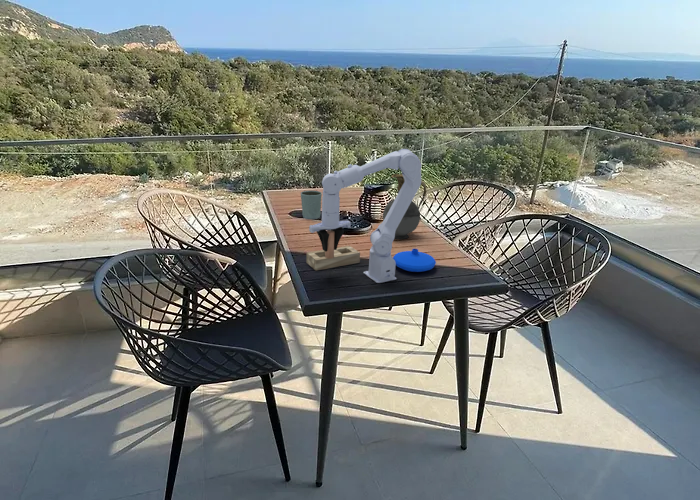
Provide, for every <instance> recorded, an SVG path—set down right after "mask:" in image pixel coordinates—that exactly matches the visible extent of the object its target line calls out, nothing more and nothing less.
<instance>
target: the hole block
mask: <svg viewBox="0 0 700 500" xmlns="http://www.w3.org/2000/svg"><path fill="white" fill-rule="evenodd" d="M360 260H361V252H360V251H358V250H357V249H355V248H354V247H353V246H351V245H345V246H339V247H338V246H337V250H334V258H331V259H328V258H325V251H324V250H323V249H320V250H314V251H309V252H306V264H307V265H308V266H310V267H311V268H312V269H313V270H314V271H321V270H329V269H332V268H338V267H344V266H348V265H353V264H359V263H361V262H360Z"/></svg>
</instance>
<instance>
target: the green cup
mask: <svg viewBox="0 0 700 500" xmlns="http://www.w3.org/2000/svg"><path fill="white" fill-rule="evenodd" d="M322 197H323V192H321V191H319V190H304V191H301V192H300V200H301V201H300V202H301V211H302V218H303V219H306V220H318V219H320V218H321V214H322Z"/></svg>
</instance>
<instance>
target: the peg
mask: <svg viewBox="0 0 700 500" xmlns="http://www.w3.org/2000/svg"><path fill="white" fill-rule="evenodd" d="M326 231H327V233H328V234H329V238H328V249H327V251H326V252H325V258H328V259H331V258H334V236H335V232H334V231H331V230H326Z"/></svg>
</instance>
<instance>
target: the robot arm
mask: <svg viewBox="0 0 700 500" xmlns="http://www.w3.org/2000/svg"><path fill="white" fill-rule="evenodd" d="M422 166H423V165H422V163H421V161H420V158H419V157H418V155H416V154H415V153H413V151H411V150H410V149H408V148H401V149H399V150H395V151H392V152H390V153H387V154H385V155H383V156H381V157H378V158H377V159H373V160H372V161H370V162H367V163H365V164H362V165H361V166H360V165H358V164H353V165H352V163H350V164H348V165H347V167H346V168H343V169H341V170H334V171H333V173H331V172H330V173H327V174H326V175H325V174H324V177H323V178H322V181H321V186H322V196H321V222H318V223H315V224H312V225H311V224H310V225H309V226H308V228H309V229H308V230H309V232H310V233H311V234H314V233H316V234H317V235H318V238H319V240H320V243H321V248H322V250H324V251H325V252H326V251H327V249H328V238H329V234H328V233H327V231H329V230H330V231H334V232H335V236H334V250H337V248H338V245H339V242H340V241H341V238H342V237H343V235H344V233H345V230H344V228H348V229H349V228H351V221H350V220H340V204H341V203H340V202H341V201H340V200H341V197H340V191H341V190H342V189H346V188H348V187H351V186H353V185H355V184H358V183H361V182H362V181H363V179H364V177H365V176H368V175H371V174H374V173H376V172H379V171H382V170H385V169H391V170H396V171H398V170H400V171H401V174H402V175H403V177H404V180H405V182H404V184H403V185H402V187H401V189H400V191H399V193H398V192H397V194H398V195H397V194H396V197H395V200H394V199H393V200H394V202H393V204H392V206H391V208H390V210H389V212H388V213H387V215H386V217H385V219H384V221H382V222H381V223H379V225H378V226H377V228H376V229H375V230H374V231H372V232H371V234H370V237H369V240H370V243H371V247H370V249H369V256H368V257H369V259H368V270H365V271H363V275H365V276H367V277H368V278H369V279H371V280H372V281H373V282H374V283H377V284H381V283H385V282H390V281H395V280H397V277H396V267H397V266H396V262H395V260H394V259H393V256H392V248H393V242H394V240H395V231H396V229H397V227H398V225H399V223H400V222H401V220H402V218H403V216H404V214H405V212H406V211H407V209H408V207H409V205H410V203H411V202H412V201H413V200H414V198H415V196H416V194H417V193H418V191H419V189H420V187H421V186H422V185H421V181H422Z"/></svg>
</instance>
